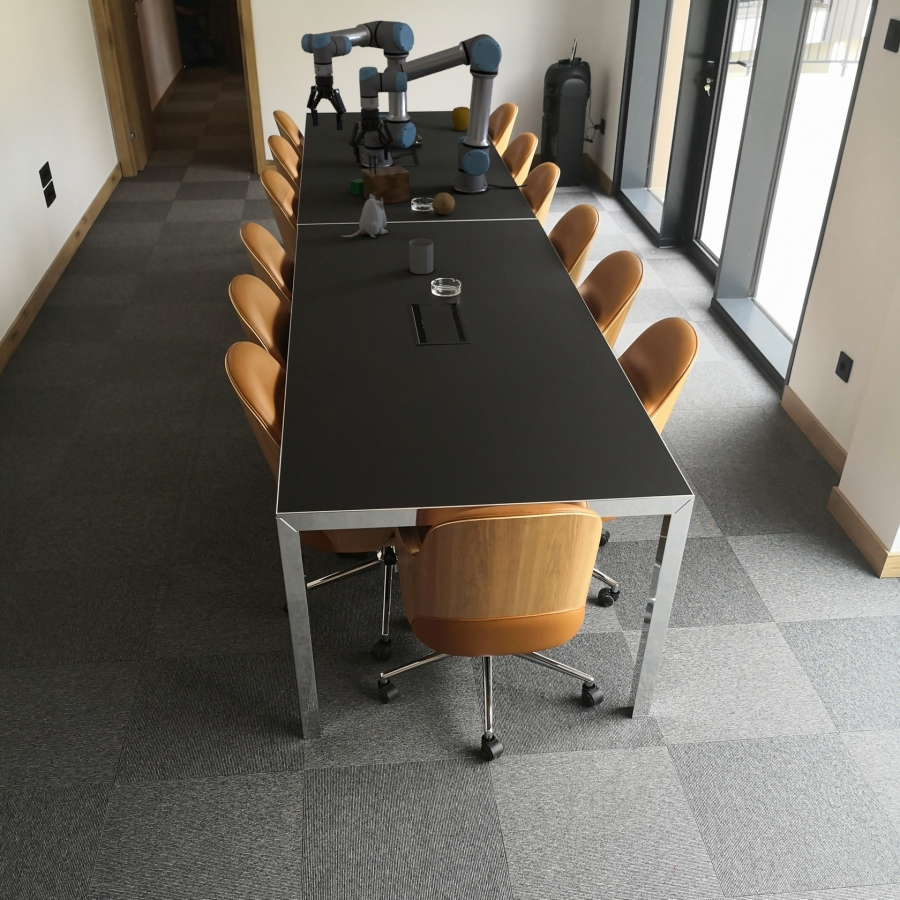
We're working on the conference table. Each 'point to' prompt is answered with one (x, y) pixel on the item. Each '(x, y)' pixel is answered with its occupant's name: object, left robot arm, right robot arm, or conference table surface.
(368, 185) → the chest
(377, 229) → the toy
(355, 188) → the block
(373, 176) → the lid
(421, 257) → the cup
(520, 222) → the conference table surface
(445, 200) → the potato
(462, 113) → the yellow bell pepper
